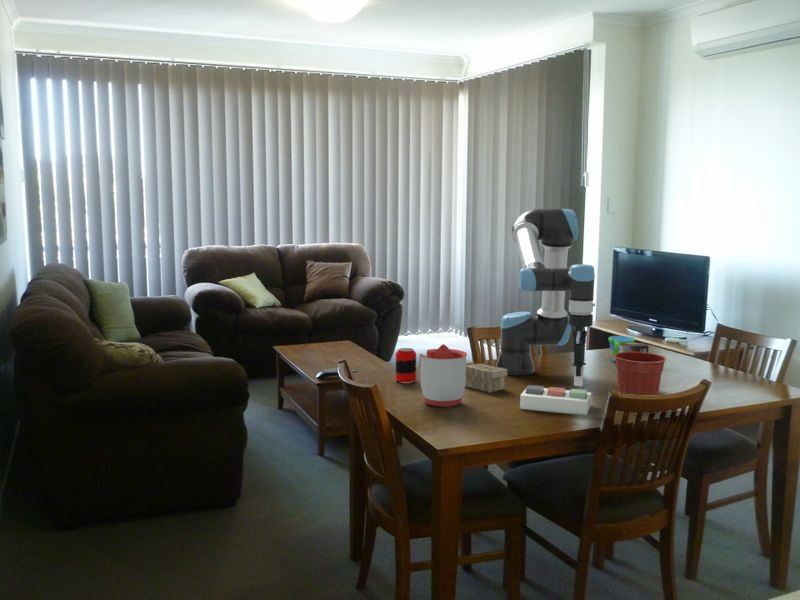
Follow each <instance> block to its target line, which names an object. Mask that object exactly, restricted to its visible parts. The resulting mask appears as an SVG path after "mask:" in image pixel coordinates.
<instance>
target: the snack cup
mask: <svg viewBox="0 0 800 600" xmlns="http://www.w3.org/2000/svg"><path fill="white" fill-rule="evenodd" d="M608 342H609V348H610V351H609V352H610V358H611V362H613V363H615V364H616V358H615V357H614V354H616V353H619V343H636V338H634V337H632V336H627V335H626V336H624V335H612V336H609V337H608Z"/></svg>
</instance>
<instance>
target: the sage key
mask: <svg viewBox="0 0 800 600" xmlns="http://www.w3.org/2000/svg"><path fill="white" fill-rule="evenodd" d="M587 392H588V390H587V389H578V388H570V392H569V397H572V398H583V399H586V397H587Z"/></svg>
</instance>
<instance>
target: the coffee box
mask: <svg viewBox="0 0 800 600" xmlns="http://www.w3.org/2000/svg"><path fill="white" fill-rule="evenodd" d="M649 347H650V346H649V345H648V344H646V343H645V342H635V343H619V353H620V352H646V353H649Z"/></svg>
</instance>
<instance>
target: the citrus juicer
mask: <svg viewBox="0 0 800 600" xmlns="http://www.w3.org/2000/svg"><path fill="white" fill-rule="evenodd" d="M467 353H468V352H466V351H464V350H461V349H460V350H459V349H452V348H449V347H448V346H447V345H446V344H441V345H440V346H439V347H438V348H433V349H426V355H425V354H423V353H419V362H416V368H417V367H419V369H420V386H421V391H422V395H423V400H424V402H425V403H426V404H427V405H428V404H429V405H428V406H433V407H445V408H451V407H454V406H457V405H460V404H461V402H462V401H463V397H464V392H465V388H466V386H465V384H466V361H467V356H468V354H467Z"/></svg>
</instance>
